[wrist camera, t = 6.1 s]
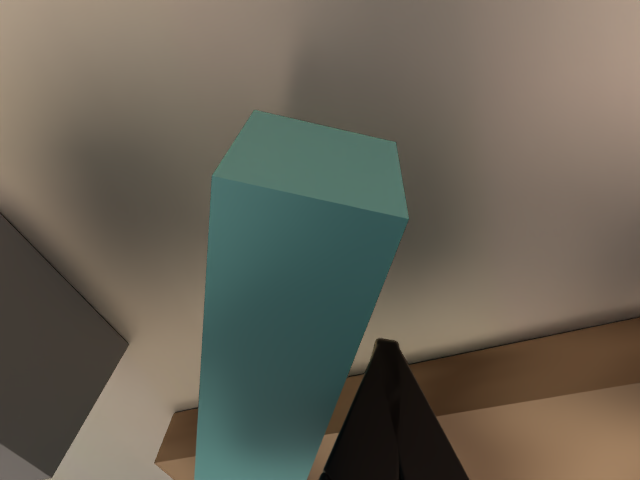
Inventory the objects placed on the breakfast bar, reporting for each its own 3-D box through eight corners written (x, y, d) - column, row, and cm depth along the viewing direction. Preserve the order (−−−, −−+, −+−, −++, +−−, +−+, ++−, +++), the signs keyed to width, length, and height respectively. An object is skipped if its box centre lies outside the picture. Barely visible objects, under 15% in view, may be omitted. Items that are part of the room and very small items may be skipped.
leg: (276, 518, 17) (264, 598, 14) (206, 505, 16) (183, 585, 14) (404, 143, 7) (420, 220, 5) (245, 107, 7) (199, 173, 5)
